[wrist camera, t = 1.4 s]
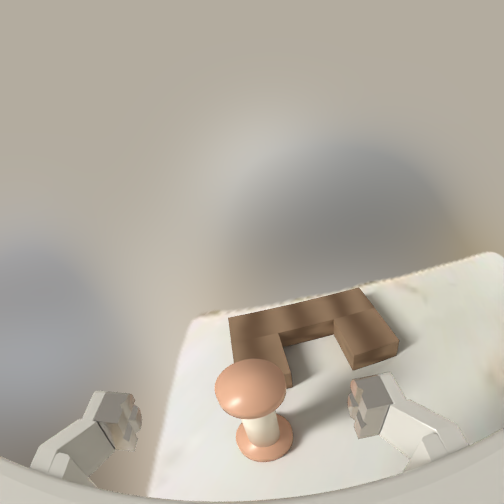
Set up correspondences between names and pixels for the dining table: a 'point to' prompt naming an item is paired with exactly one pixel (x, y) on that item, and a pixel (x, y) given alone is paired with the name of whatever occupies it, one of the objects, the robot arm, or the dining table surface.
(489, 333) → the dining table surface
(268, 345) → the notched board
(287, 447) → the bobbin
